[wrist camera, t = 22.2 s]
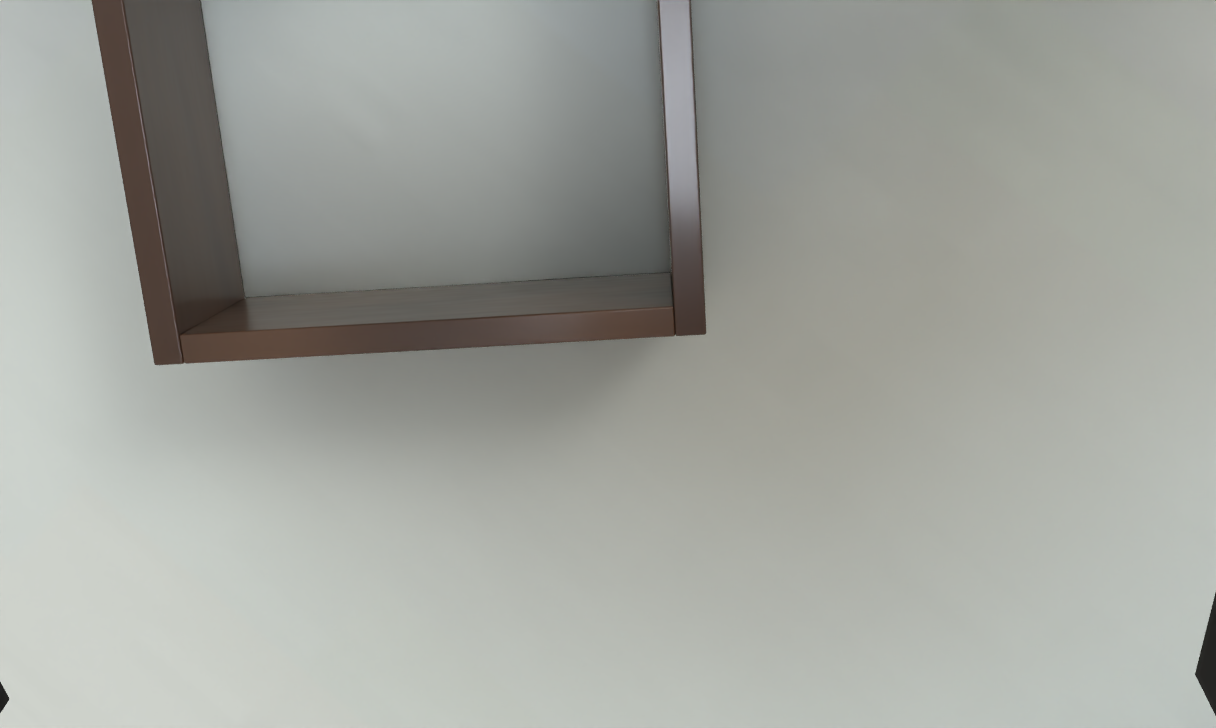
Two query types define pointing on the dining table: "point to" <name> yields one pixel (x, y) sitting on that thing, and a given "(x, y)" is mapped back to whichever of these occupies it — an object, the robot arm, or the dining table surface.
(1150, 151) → the dining table surface
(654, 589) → the dining table surface
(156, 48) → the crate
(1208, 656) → the robot arm
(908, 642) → the dining table surface
